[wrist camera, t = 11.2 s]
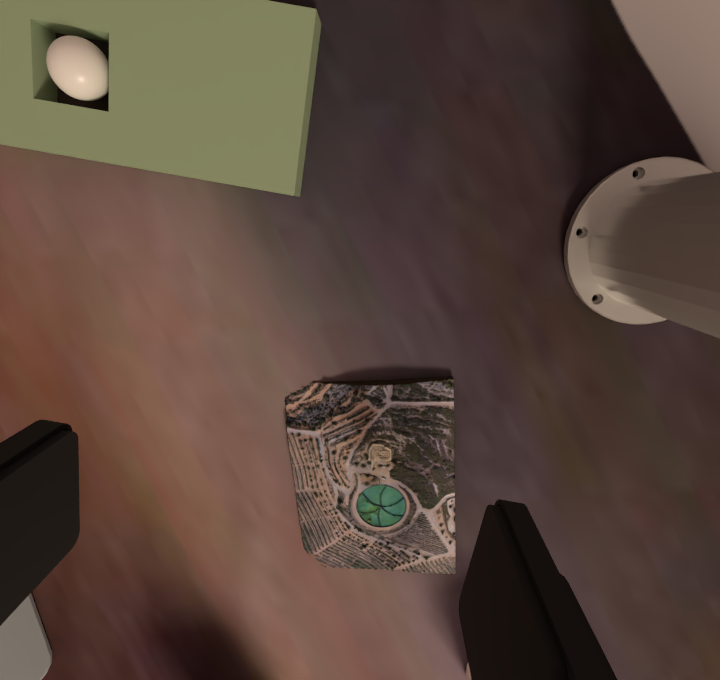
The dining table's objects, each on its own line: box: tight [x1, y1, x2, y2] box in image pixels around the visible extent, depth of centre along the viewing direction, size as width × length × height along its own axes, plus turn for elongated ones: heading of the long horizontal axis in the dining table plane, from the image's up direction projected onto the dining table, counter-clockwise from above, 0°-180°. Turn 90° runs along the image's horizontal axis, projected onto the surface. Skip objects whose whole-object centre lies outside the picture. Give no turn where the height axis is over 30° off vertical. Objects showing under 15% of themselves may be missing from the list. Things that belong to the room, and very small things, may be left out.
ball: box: [46, 35, 109, 101], centre depth 31 cm, size 4×4×4 cm
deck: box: [0, 0, 321, 197], centre depth 32 cm, size 22×12×2 cm, turn 80°
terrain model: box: [285, 377, 456, 574], centre depth 41 cm, size 20×15×3 cm
